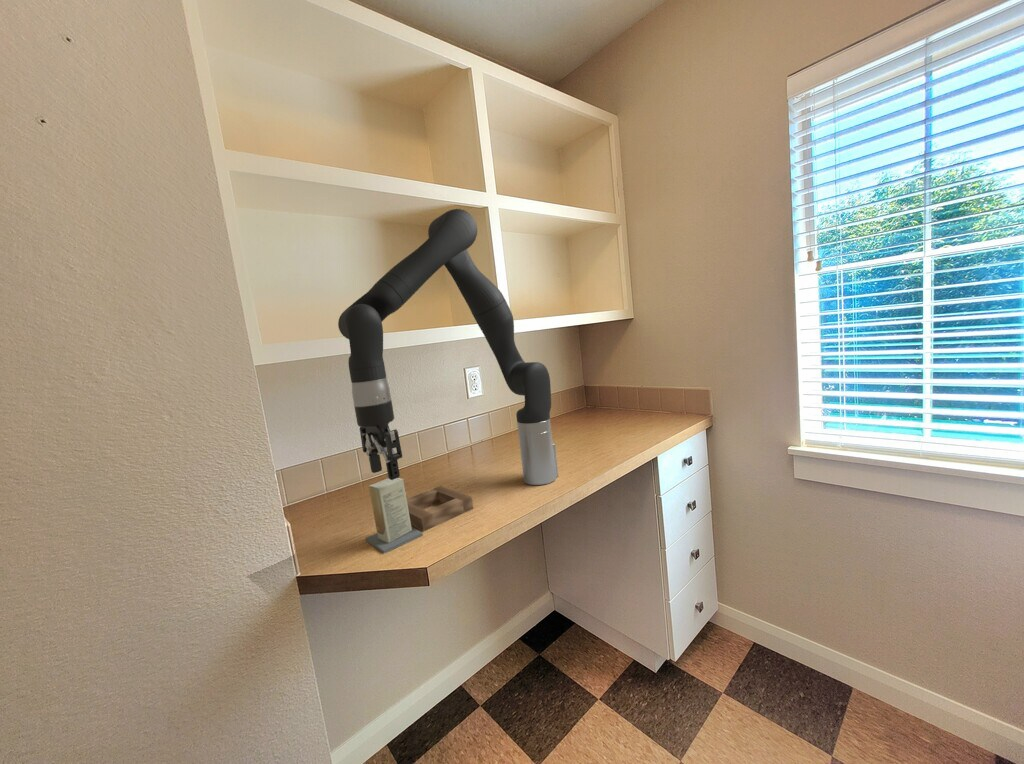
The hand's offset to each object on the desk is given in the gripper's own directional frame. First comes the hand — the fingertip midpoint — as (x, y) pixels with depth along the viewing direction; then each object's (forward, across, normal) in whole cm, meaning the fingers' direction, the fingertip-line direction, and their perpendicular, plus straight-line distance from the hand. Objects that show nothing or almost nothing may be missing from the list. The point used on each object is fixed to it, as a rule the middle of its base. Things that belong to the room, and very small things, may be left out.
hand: (385, 475), depth 86 cm
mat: (+14, 0, 0) cm, 14 cm away
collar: (+14, +4, -12) cm, 19 cm away
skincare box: (+14, 0, 0) cm, 14 cm away
